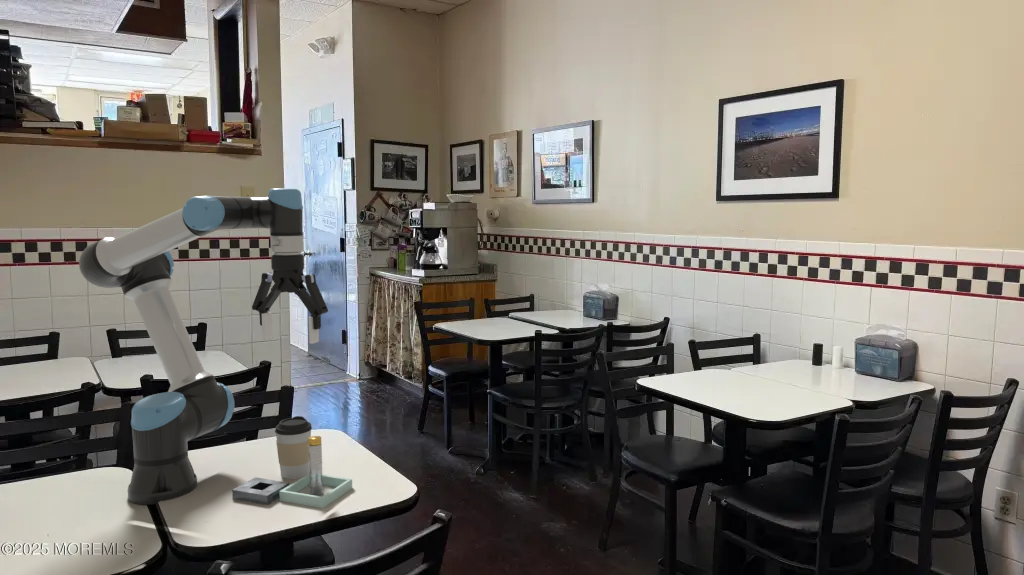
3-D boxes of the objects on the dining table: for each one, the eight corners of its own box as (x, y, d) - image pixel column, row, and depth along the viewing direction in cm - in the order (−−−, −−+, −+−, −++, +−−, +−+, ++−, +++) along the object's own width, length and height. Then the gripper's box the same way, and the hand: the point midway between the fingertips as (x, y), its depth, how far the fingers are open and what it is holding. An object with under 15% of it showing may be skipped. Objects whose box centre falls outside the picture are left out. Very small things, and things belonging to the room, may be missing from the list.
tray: (279, 503, 160) (279, 491, 160) (311, 484, 172) (310, 472, 171) (323, 511, 156) (323, 498, 156) (352, 490, 168) (352, 479, 167)
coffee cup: (302, 484, 171) (300, 426, 170) (269, 481, 173) (267, 424, 172) (319, 471, 180) (317, 415, 178) (288, 468, 182) (286, 413, 180)
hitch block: (232, 502, 161) (232, 489, 161) (256, 489, 169) (255, 477, 168) (267, 508, 158) (267, 495, 158) (289, 494, 165) (289, 482, 165)
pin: (307, 496, 163) (305, 439, 161) (315, 491, 166) (313, 435, 164) (318, 498, 162) (316, 440, 160) (325, 493, 165) (323, 436, 163)
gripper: (234, 253, 165) (238, 340, 167) (322, 255, 156) (325, 347, 159) (255, 251, 172) (259, 334, 174) (341, 253, 163) (343, 341, 166)
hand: (290, 341), depth 166 cm, fingers open, 13 cm apart
